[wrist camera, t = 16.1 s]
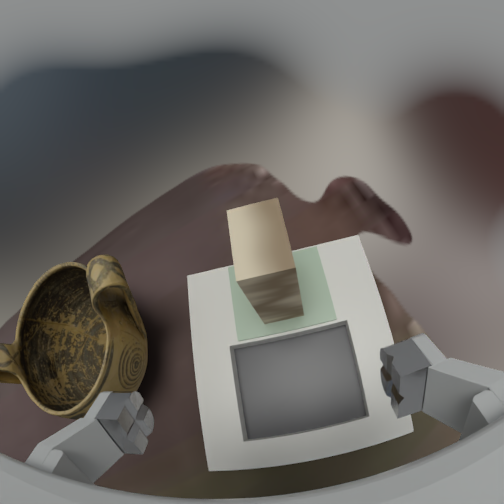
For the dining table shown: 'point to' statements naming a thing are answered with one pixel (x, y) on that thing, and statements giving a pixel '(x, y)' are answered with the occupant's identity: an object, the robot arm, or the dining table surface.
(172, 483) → the dining table surface
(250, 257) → the birch block
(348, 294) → the hole board
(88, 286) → the ceramic bowl
